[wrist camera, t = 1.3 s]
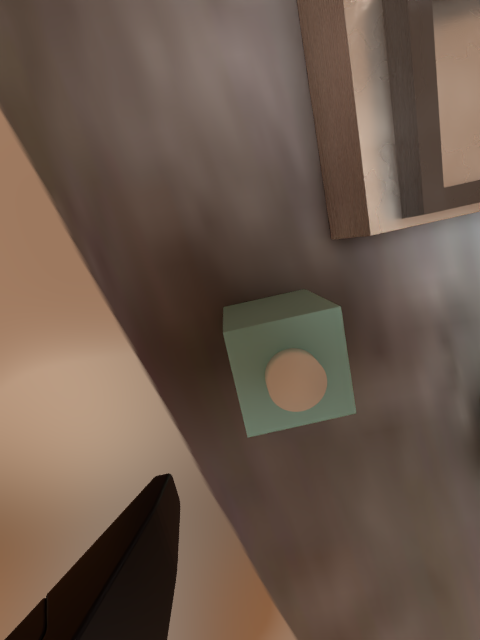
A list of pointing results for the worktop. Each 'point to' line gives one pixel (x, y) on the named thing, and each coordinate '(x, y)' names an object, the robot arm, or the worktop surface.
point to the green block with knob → (288, 361)
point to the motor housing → (394, 110)
